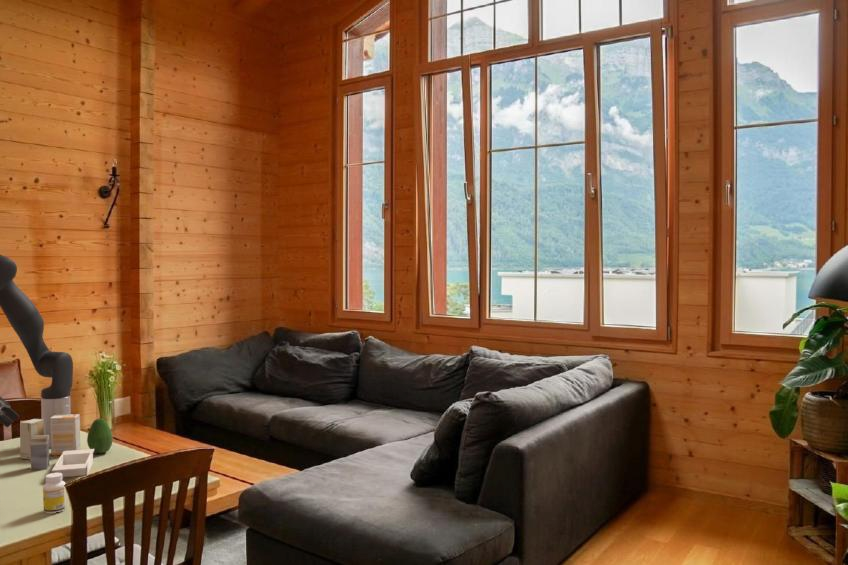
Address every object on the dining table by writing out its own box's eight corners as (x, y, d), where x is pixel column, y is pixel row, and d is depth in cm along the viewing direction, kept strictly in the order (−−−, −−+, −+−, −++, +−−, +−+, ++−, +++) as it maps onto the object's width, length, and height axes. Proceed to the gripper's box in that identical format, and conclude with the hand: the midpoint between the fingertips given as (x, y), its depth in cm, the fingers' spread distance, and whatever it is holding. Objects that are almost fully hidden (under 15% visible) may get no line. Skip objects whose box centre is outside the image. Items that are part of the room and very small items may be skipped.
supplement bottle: (48, 507, 191) (48, 471, 191) (69, 506, 192) (69, 471, 191) (39, 514, 186) (39, 478, 185) (61, 514, 186) (60, 477, 186)
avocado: (99, 448, 247) (99, 415, 246) (117, 451, 244) (117, 417, 244) (81, 455, 239) (81, 420, 239) (100, 457, 237) (99, 422, 236)
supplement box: (81, 451, 244) (80, 413, 243) (76, 455, 239) (75, 417, 238) (56, 451, 243) (55, 414, 242) (50, 455, 238) (49, 417, 238)
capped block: (33, 466, 226) (33, 435, 226) (49, 465, 228) (48, 434, 227) (31, 470, 223) (30, 439, 222) (46, 469, 224) (46, 438, 224)
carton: (63, 461, 232) (63, 451, 232) (94, 459, 235) (94, 448, 235) (51, 481, 212) (51, 470, 212) (85, 479, 215) (85, 467, 215)
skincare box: (31, 459, 233) (30, 423, 233) (19, 459, 234) (19, 422, 234) (45, 454, 240) (44, 418, 239) (34, 453, 241) (33, 418, 240)
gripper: (-26, 382, 212) (17, 418, 216) (-13, 374, 225) (28, 407, 230) (-46, 401, 211) (-2, 436, 215) (-32, 392, 224) (9, 425, 228)
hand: (13, 421), depth 222 cm, fingers open, 8 cm apart
